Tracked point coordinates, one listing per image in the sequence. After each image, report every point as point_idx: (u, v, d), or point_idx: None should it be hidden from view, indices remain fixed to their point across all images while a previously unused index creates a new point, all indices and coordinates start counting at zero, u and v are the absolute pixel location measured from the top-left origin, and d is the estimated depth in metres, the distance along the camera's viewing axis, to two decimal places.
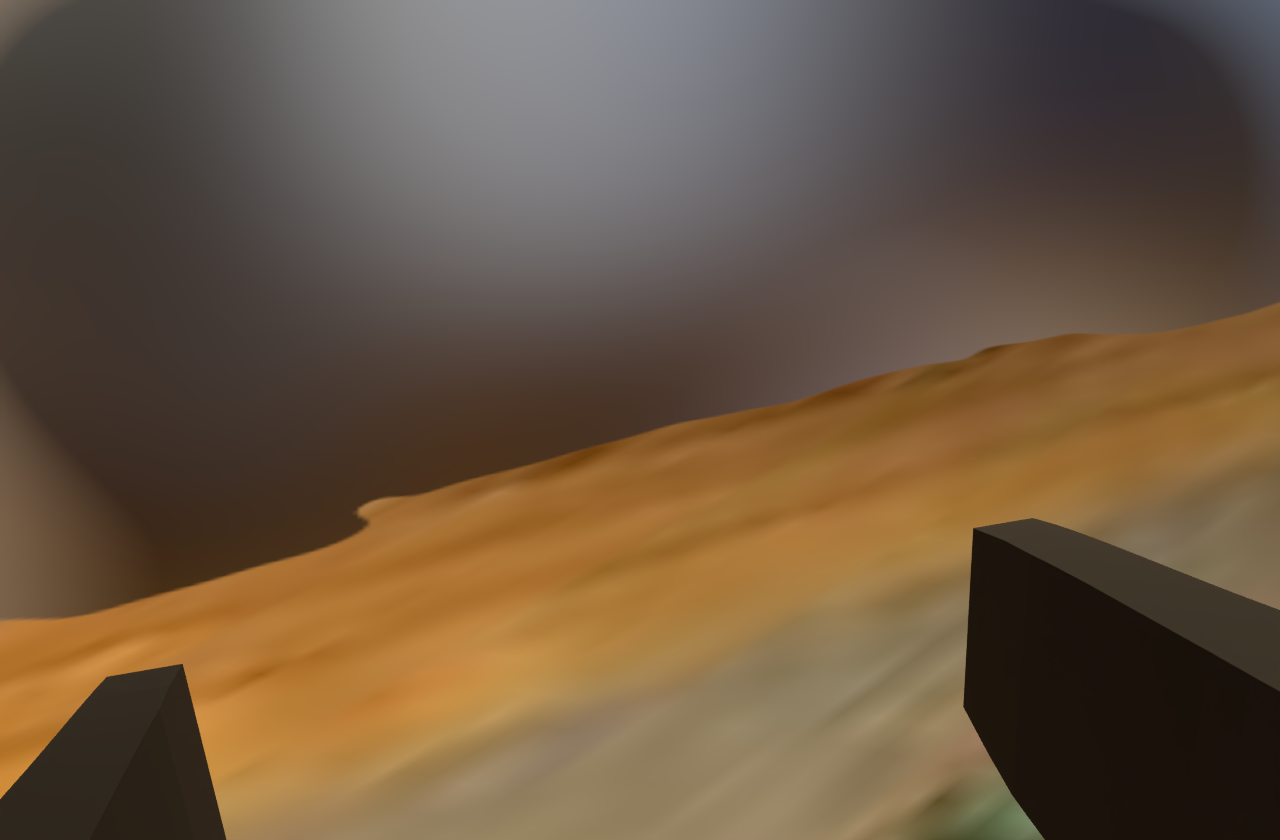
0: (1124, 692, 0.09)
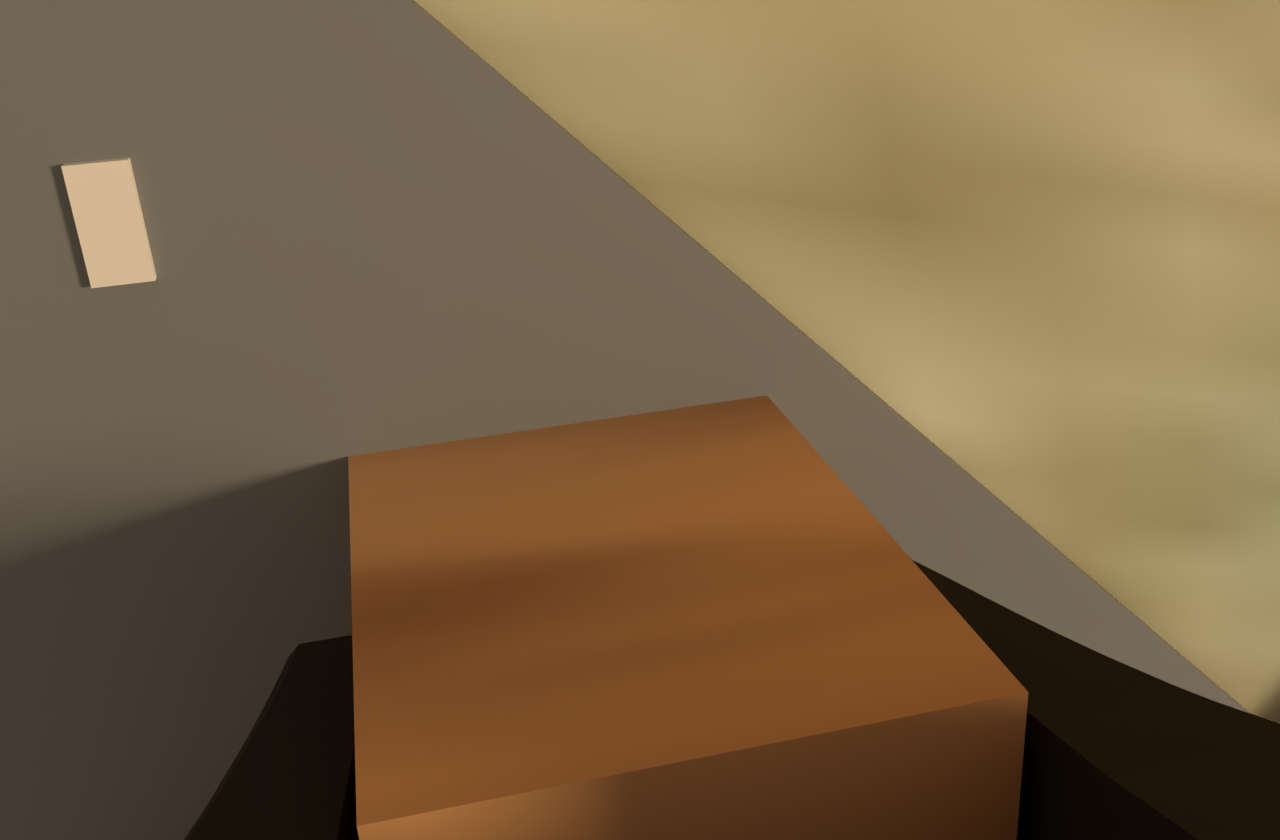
0: None
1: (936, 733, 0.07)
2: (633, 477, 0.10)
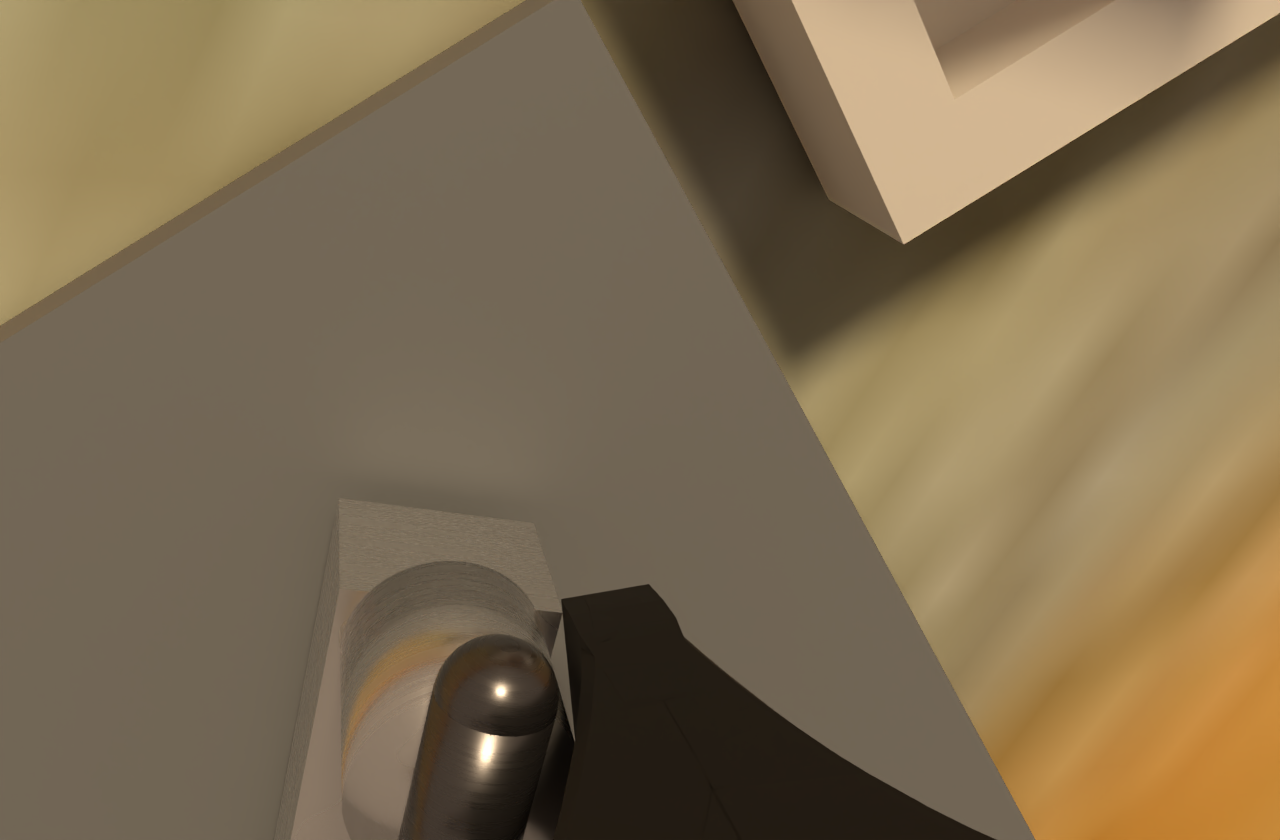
0: None
1: None
2: None
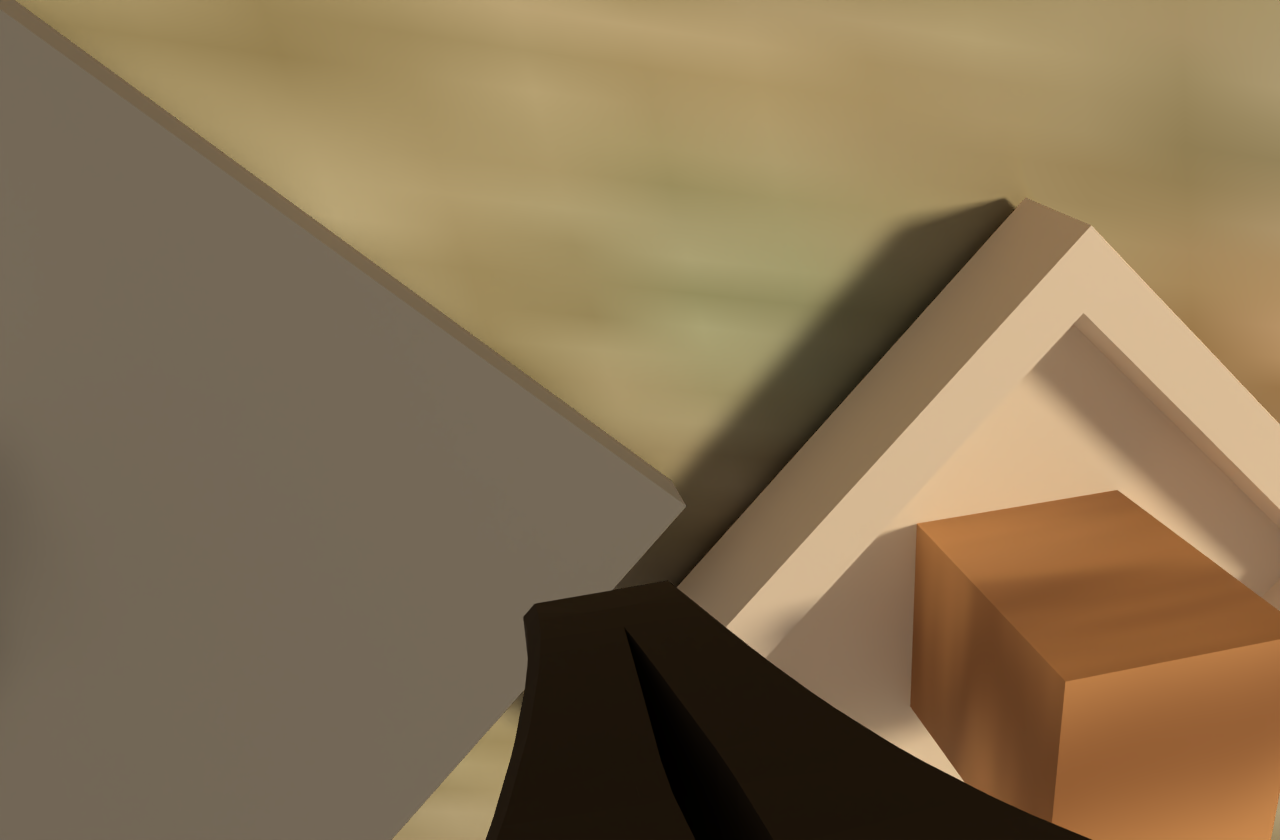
0: (682, 782, 0.09)
1: (1273, 649, 0.18)
2: (1076, 536, 0.21)
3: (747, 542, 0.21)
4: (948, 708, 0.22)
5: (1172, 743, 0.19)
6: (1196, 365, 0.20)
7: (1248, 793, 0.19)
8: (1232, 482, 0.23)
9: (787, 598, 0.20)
